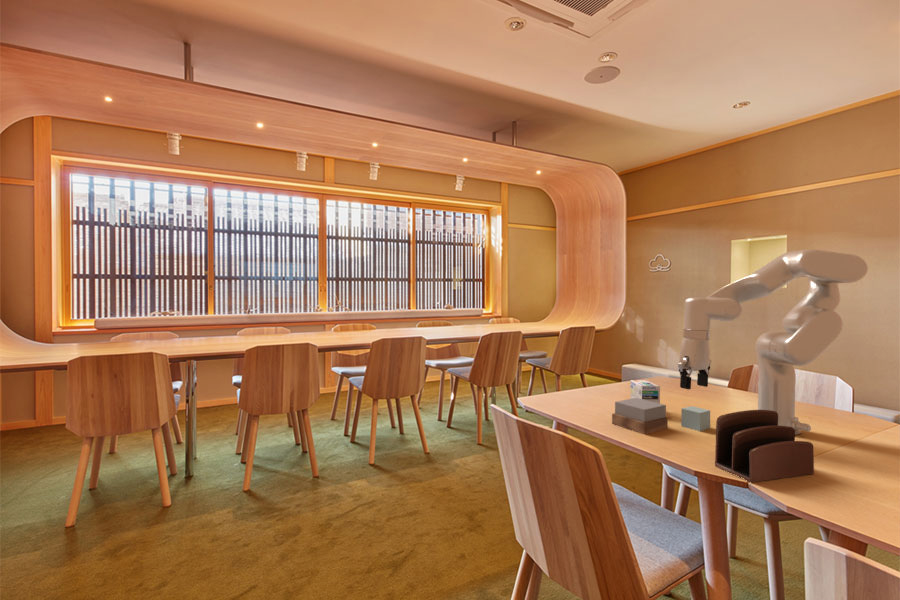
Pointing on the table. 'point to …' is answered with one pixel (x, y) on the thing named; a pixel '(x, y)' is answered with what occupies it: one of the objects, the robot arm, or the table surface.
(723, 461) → the letter holder
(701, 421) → the blue-grey block
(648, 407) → the grey slab
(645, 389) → the light bulb box
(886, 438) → the table surface
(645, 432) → the walnut slab
